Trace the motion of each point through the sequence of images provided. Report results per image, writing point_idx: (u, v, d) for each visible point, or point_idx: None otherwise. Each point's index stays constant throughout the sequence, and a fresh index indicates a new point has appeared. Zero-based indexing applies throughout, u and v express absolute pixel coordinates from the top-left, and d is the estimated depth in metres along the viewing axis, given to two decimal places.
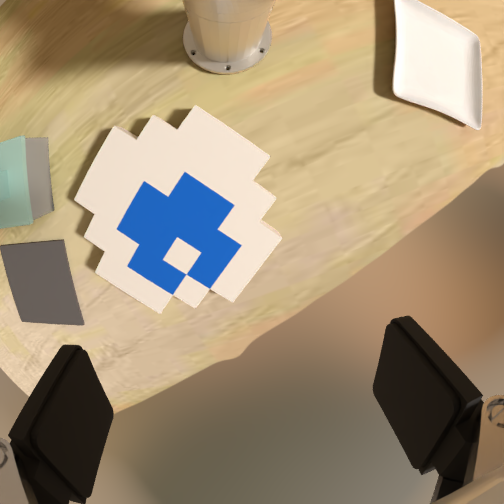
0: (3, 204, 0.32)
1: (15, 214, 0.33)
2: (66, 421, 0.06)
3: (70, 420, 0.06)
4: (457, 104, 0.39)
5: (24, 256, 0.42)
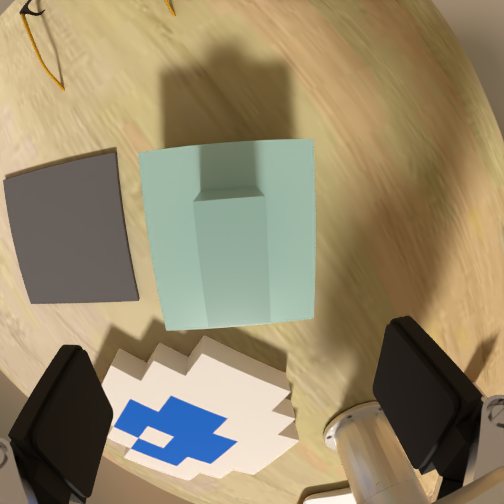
0: (198, 275, 0.23)
1: (181, 303, 0.24)
2: (66, 421, 0.06)
3: (70, 420, 0.06)
4: None
5: (102, 217, 0.28)
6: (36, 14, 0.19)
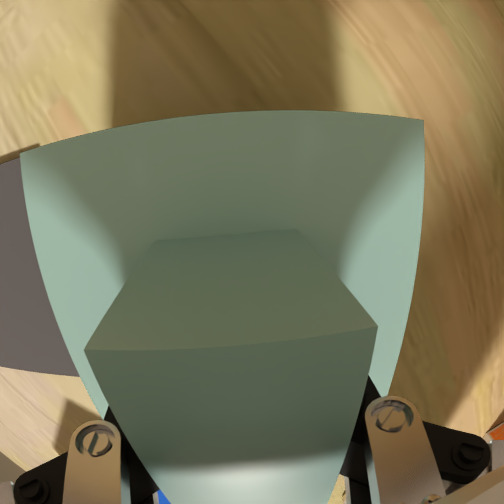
0: None
1: None
2: None
3: None
4: None
5: (26, 258, 0.15)
6: None
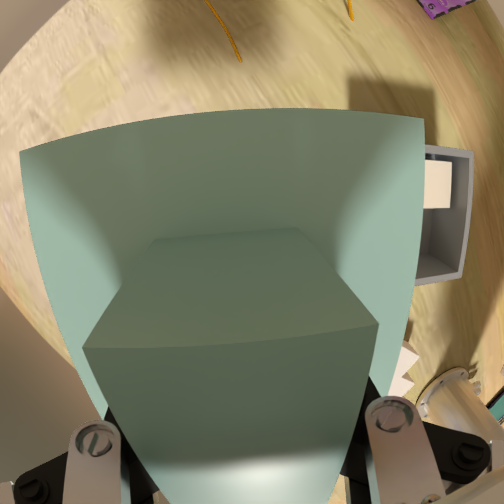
0: None
1: None
2: None
3: None
4: None
5: None
6: None
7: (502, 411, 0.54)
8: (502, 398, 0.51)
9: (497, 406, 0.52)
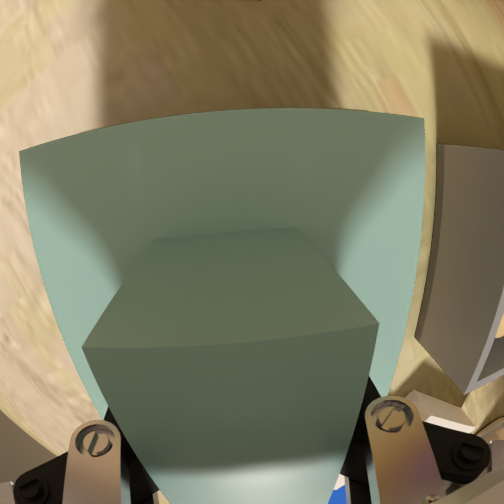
0: None
1: None
2: None
3: None
4: None
5: None
6: None
7: None
8: None
9: None
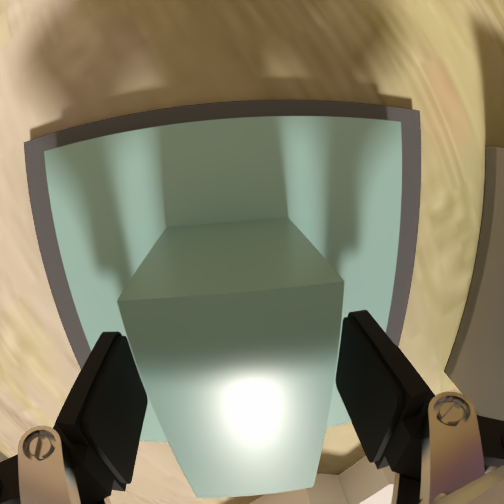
0: None
1: (151, 413, 0.12)
2: (111, 405, 0.06)
3: (115, 404, 0.06)
4: None
5: None
6: None
7: None
8: None
9: None
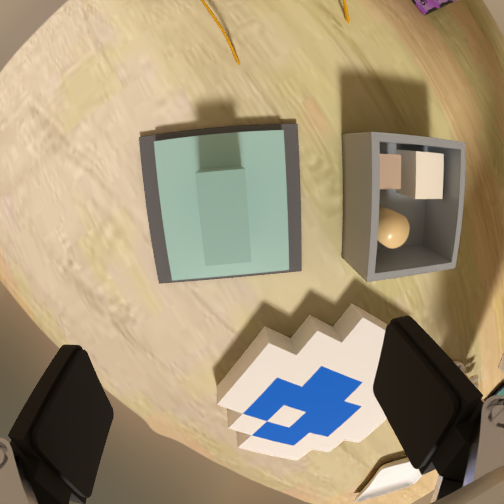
0: (198, 233, 0.30)
1: (184, 256, 0.31)
2: (66, 421, 0.06)
3: (70, 420, 0.06)
4: (369, 487, 0.58)
5: None
6: None
7: None
8: None
9: None
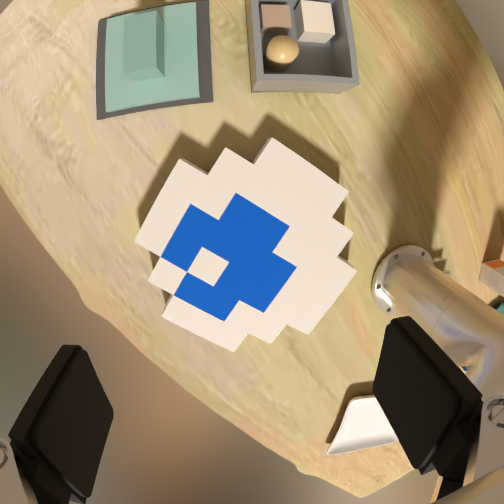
0: None
1: (116, 91, 0.32)
2: (66, 421, 0.06)
3: (70, 420, 0.06)
4: (343, 436, 0.59)
5: None
6: None
7: None
8: None
9: None
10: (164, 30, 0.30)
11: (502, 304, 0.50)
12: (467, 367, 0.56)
